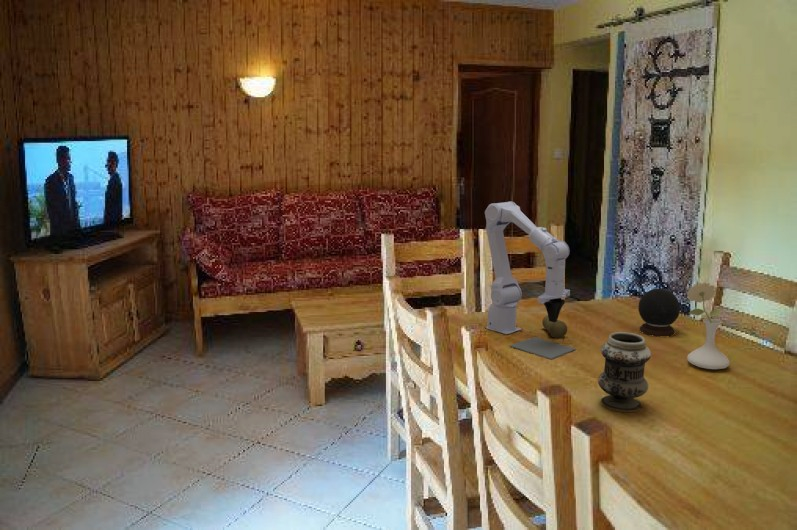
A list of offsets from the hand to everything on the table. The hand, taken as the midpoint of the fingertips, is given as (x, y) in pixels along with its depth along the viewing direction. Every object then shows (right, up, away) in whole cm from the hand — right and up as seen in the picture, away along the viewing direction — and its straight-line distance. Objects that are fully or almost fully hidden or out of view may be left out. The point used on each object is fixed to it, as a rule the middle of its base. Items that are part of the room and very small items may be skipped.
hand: (552, 321), depth 209 cm
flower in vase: (+41, -12, -17) cm, 46 cm away
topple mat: (-4, -8, -2) cm, 9 cm away
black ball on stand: (+39, -5, +15) cm, 42 cm away
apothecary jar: (+7, -18, -43) cm, 47 cm away
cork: (+4, -3, +7) cm, 9 cm away
